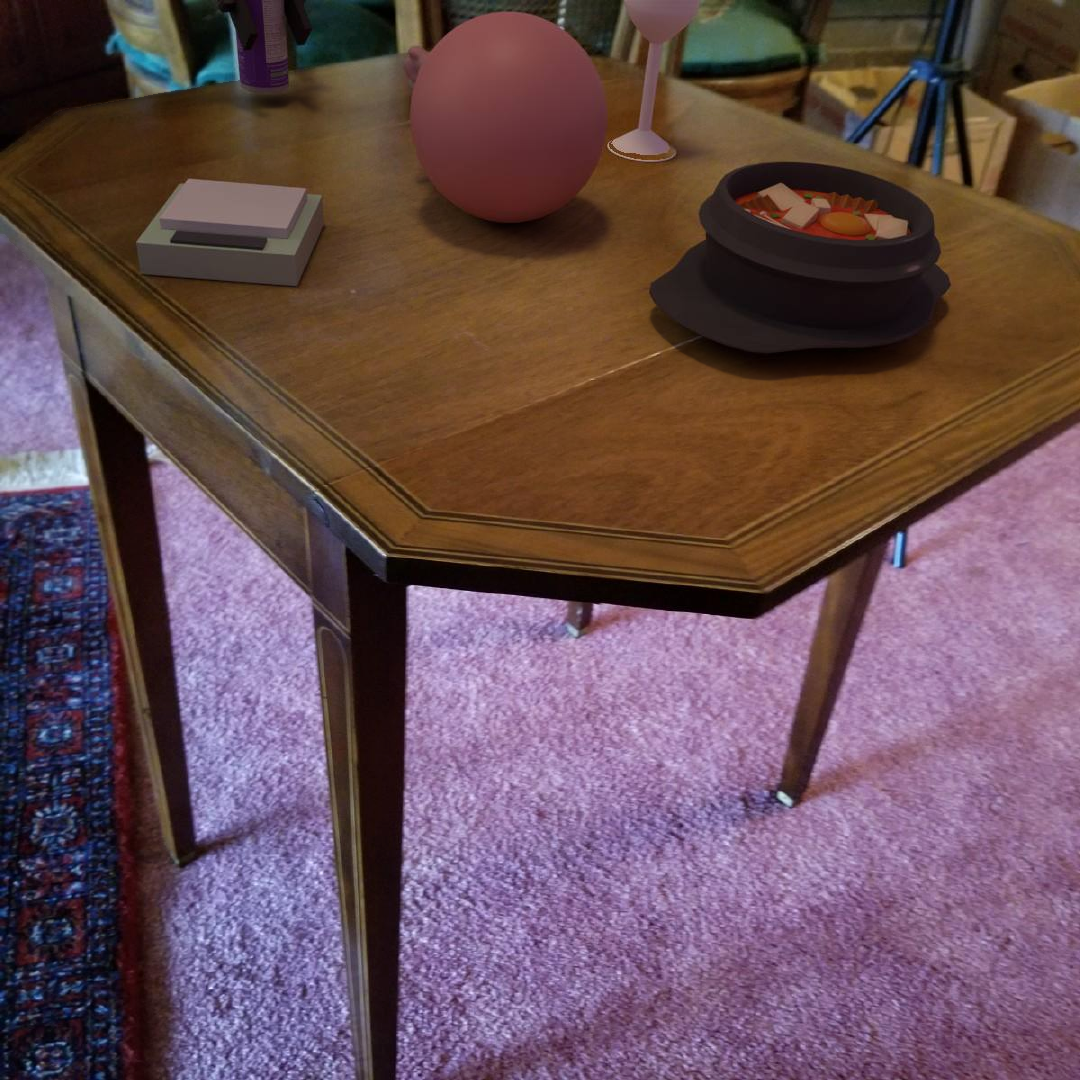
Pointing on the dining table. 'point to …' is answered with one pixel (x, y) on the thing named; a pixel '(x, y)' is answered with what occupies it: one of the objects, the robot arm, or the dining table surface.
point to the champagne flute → (653, 67)
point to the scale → (233, 233)
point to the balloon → (507, 116)
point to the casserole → (807, 261)
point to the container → (265, 50)
